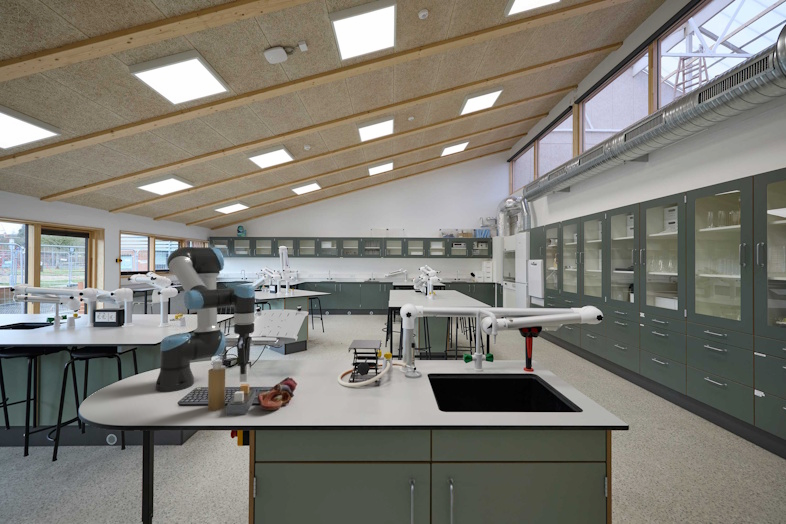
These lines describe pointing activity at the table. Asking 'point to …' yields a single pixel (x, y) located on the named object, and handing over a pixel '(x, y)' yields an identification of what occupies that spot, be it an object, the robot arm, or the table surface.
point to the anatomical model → (278, 395)
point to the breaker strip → (241, 404)
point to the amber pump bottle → (216, 387)
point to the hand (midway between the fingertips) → (243, 381)
